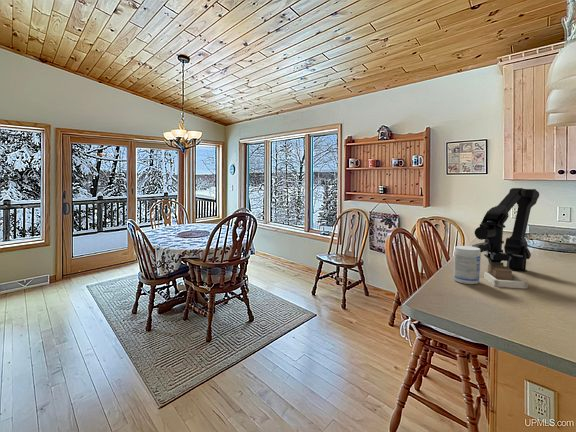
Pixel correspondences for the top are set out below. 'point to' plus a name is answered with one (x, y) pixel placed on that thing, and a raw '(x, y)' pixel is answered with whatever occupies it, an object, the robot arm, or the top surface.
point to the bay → (507, 281)
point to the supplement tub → (467, 264)
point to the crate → (499, 271)
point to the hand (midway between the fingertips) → (492, 271)
